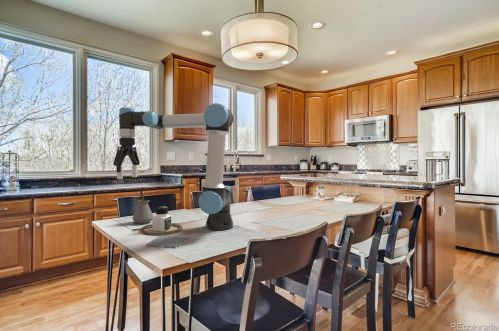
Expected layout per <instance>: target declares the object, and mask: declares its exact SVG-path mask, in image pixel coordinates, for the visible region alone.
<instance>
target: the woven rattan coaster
mask: <svg viewBox="0 0 499 331" xmlns="http://www.w3.org/2000/svg"><path fill="white" fill-rule="evenodd" d="M173 226H174V227H177V229H173V230H167V231H165V232H160V231H148V230H146V229H148V228H152V223H151V224H145V225H144V226H141V227H140V233H141V234H143V235H146V236H170V235H171V234H176V233H180V232H181V231H182V230H183V226H182V224H179V223H176V222H171V227H173Z"/></svg>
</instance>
